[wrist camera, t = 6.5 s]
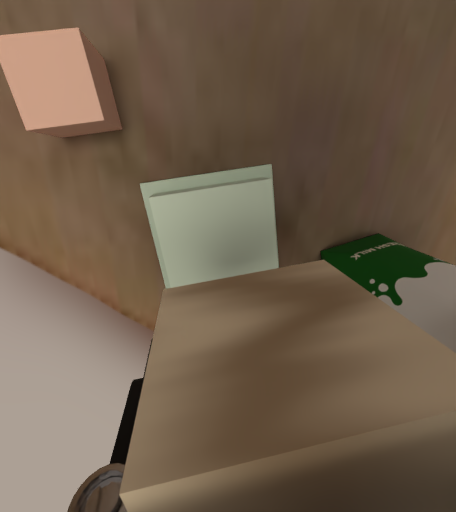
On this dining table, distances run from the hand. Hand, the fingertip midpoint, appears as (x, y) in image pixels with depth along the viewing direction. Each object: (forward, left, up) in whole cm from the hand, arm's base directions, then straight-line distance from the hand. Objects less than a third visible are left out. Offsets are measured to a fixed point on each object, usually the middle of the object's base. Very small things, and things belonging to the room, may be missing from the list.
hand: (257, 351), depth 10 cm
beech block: (0, 0, -1) cm, 1 cm away
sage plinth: (0, 0, -17) cm, 17 cm away
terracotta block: (+9, -13, -17) cm, 24 cm away
